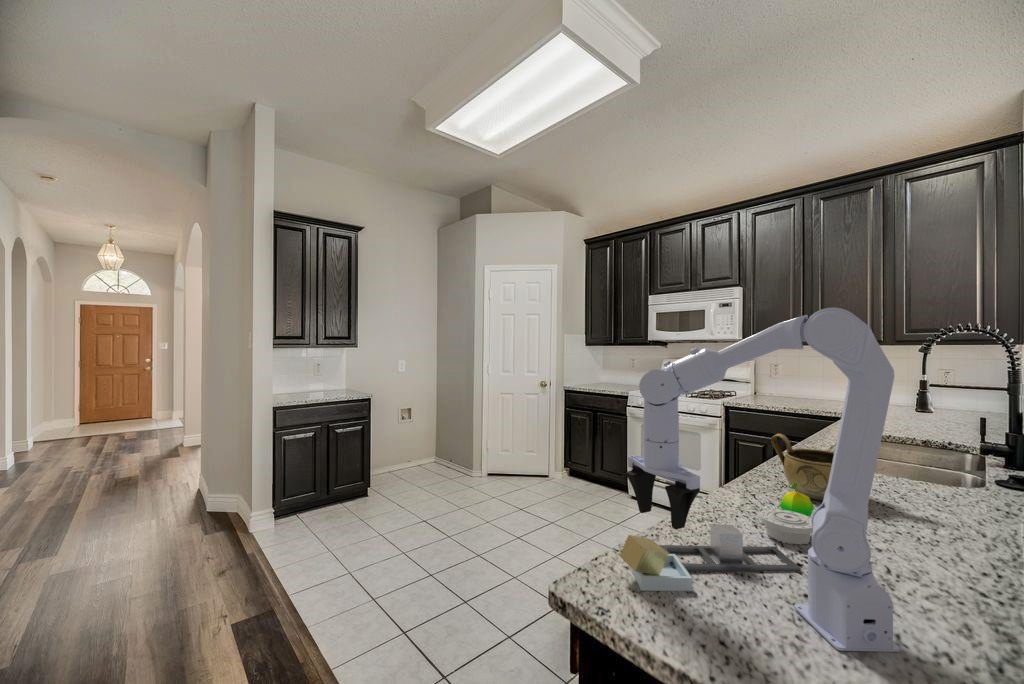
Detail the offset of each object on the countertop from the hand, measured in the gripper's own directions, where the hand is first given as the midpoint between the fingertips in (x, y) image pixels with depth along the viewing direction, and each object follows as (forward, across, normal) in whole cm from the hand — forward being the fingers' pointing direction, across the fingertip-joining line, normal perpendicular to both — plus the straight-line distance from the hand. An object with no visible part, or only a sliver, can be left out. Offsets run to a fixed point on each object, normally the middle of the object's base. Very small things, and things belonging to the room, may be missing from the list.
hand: (661, 519), depth 75 cm
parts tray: (+10, 0, 0) cm, 10 cm away
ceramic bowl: (+10, +11, -66) cm, 68 cm away
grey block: (+10, -1, -15) cm, 18 cm away
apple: (+10, +5, -45) cm, 46 cm away
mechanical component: (+8, -2, -30) cm, 31 cm away
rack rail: (+10, -1, -15) cm, 18 cm away
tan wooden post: (+7, +1, 0) cm, 7 cm away
